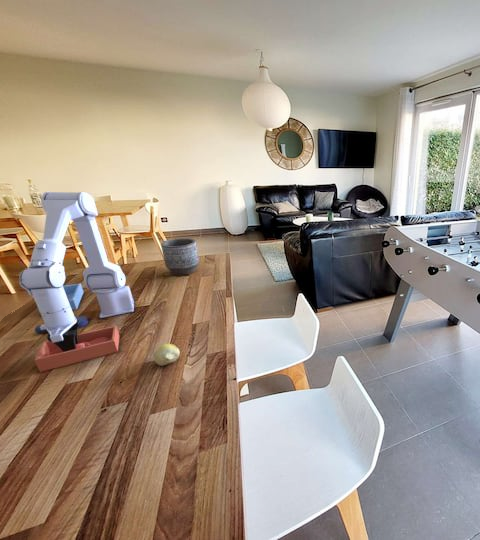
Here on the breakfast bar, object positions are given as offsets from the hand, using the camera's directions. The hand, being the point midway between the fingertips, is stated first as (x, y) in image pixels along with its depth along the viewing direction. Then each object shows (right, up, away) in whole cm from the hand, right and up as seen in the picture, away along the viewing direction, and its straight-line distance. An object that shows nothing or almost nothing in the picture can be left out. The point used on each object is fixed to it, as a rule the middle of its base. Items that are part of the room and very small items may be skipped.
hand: (72, 349), depth 82 cm
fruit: (+27, -3, +1) cm, 27 cm away
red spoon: (+1, -1, +2) cm, 2 cm away
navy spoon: (-15, +4, +12) cm, 20 cm away
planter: (-4, +22, +59) cm, 63 cm away
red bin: (+2, -1, +2) cm, 3 cm away
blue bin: (-30, +10, +26) cm, 41 cm away
